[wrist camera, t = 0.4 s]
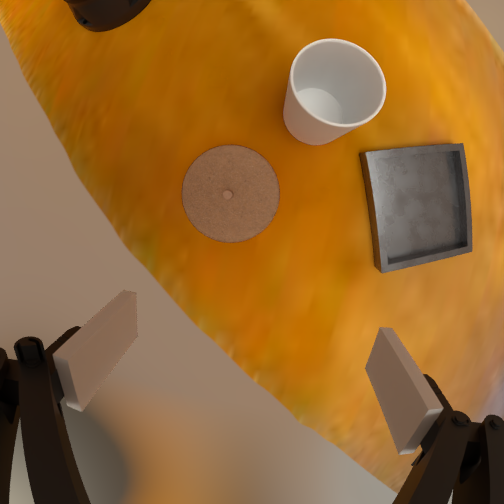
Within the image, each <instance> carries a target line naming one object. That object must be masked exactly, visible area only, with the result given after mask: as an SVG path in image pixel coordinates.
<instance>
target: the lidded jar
mask: <svg viewBox="0 0 504 504" xmlns="http://www.w3.org/2000/svg"><path fill="white" fill-rule="evenodd" d="M279 199H280V189H279V183H278V180H277V176H276V174H275V172H274V170H273V168H272V167H271V165H270V164H269V163H268V161H267V160H266V159H265V158H264V157H263V156H261V155H260V154H258V153H257V152H255V151H253V150H251V149H249V148H247V147H243V146H238V145H223V146H218V147H215V148H212V149H210V150H208V151H206V152H204V153H203V154H202V155H200V156H199V157H198V158H197V159H196V160H195V161H194V162H193V163H192V165H191V166H190V167H189V169H188V171H187V173H186V175H185V178H184V181H183V186H182V201H183V206H184V209H185V212H186V214H187V216H188V218H189V220H190V221H191V223H192V224H193V225H194V226H195V227H196V228H197V229H198V230H199V231H200V232H201V233H203V234H204V235H205V236H207V237H209V238H211V239H214V240H217V241H221V242H229V243H234V242H241V241H245V240H248V239H250V238H252V237H254V236H256V235H258V234H259V233H261V232H262V231H263V230H264V229H265V228H266V227H267V226H268V225H269V223H270V222H271V221H272V219H273V217H274V216H275V214H276V211H277V208H278V204H279Z"/></svg>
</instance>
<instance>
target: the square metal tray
mask: <svg viewBox="0 0 504 504" xmlns="http://www.w3.org/2000/svg"><path fill="white" fill-rule="evenodd" d="M359 156H360V161H361V166H362V172H363V178H364V183H365V190H366V196H367V203H368V210H369V217H370V225H371V233H372V242H373V252H374V262H375V267H376V268H377V269H378V270H379V271H380V272H381V273H385V272H390V271H394V270H399V269H403V268H407V267H412V266H416V265H420V264H424V263H429V262H433V261H437V260H441V259H445V258H449V257H453V256H457V255H461V254H465V253H468V252H472V217H471V202H470V190H469V180H468V172H467V165H466V158H465V151H464V145H463V143H460V144H444V145H430V146H418V147H407V148H397V149H388V150H380V151H371V152H364V153H360V154H359Z"/></svg>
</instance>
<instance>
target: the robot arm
mask: <svg viewBox="0 0 504 504" xmlns="http://www.w3.org/2000/svg"><path fill="white" fill-rule="evenodd" d="M64 1H65V2H67V3H68V5H69V7H70V9H71V11H72V13H73V15H74V17H75V19H76V20H77V22H78V23H79V24H80V25H82V26H83V27H85V28H86V29H88V30H91V31H96V32H100V31H107V30H110V29H113V28H116V27H118V26H120V25H122V24H124V23H126V22H127V21H129V20H131V19H132V18H133V17H135V16H136V15H137V14H138V13H140V12H141V11H142V10H143V9H144V8H145V7H146V6H147V4H148V3H149V2H150V1H151V0H64ZM136 312H137V309H136V293H135V292H131V291H126V290H123V291H122V292H121V293H120V294H119V295H118V296H116V297H115V298H114V299H113V300H112V301H110V302H109V303H108V304H107V305H106V306H105V307H104V308H103V309H101V310H100V311H99V312H98V313H97V314H96V315H95V316H94V317H92V318H91V319H90V320H89V321H88V322H87V323H86V324H85V325H84V326H83V327H79V326H75V327H73V328H71V329H69V330H67V331H66V332H65V333H64V334H63V335H62V337H59V338H58V339H57V341H55V342H54V343H53V344H51V345H50V346H49V347H48V348H47V349H46V350H45V351H44V347H43V343H42V341H41V340H40V339H39V338H36V337H24V338H21V339H19V340H18V341H17V342H16V343H15V345H14V350H15V353H16V356H17V359H18V360H12V359H8V357H7V354H6V352H5V350H4V349H2V348H0V504H9V492H10V479H11V469H12V460H13V453H14V446H15V440H16V434H17V429H18V424H19V419H20V420H21V430H22V440H23V448H24V454H25V461H26V467H27V472H28V477H29V482H30V486H31V491H32V495H33V499H34V502H35V504H91V503H90V501H89V498H88V495H87V493H86V490H85V487H84V485H83V482H82V479H81V476H80V473H79V470H78V467H77V465H76V461H75V458H74V455H73V451H72V448H71V444H70V441H69V437H68V433H67V429H66V425H65V420H64V416H63V411H62V407H61V404H60V401H61V399H62V398H63V397H65V400H66V403H67V406H69V407H71V408H74V409H76V410H78V411H81V412H82V411H83V410H84V408H85V407H86V405H87V404H88V403H89V401H90V400H91V398H92V397H93V396H94V394H95V393H96V391H97V390H98V388H99V387H100V386H101V384H102V383H103V382H104V380H105V379H106V378H107V376H108V375H109V374H110V372H111V371H112V370H113V368H114V367H115V366H116V364H117V363H118V361H119V360H120V359H121V357H122V356H123V355H124V354H125V352H126V351H127V350H128V348H129V347H130V346H131V344H132V343H133V341H134V340H135V339H136V338H137V336H138V333H137V313H136ZM365 369H366V372H367V374H368V376H369V379H370V381H371V384H372V386H373V389H374V391H375V394H376V396H377V398H378V401H379V404H380V406H381V409H382V411H383V414H384V416H385V419H386V421H387V424H388V427H389V429H390V432H391V435H392V437H393V440H394V443H395V446H396V448H397V451H398V454H399V455H401V454H409V453H414V451H415V450H416V449H417V447H418V446H419V445H421V447H422V449H423V450H422V452H421V453H420V454H419V456H418V457H417V458H416V459H415V461H414V462H413V463H412V464H411V465H412V466H413V465H414V466H413V468H412V470H411V472H410V474H409V475H408V477H407V479H406V481H405V483H404V485H403V486H402V488H401V490H400V492H399V493H398V495H397V497H396V498H395V500H394V502H393V503H392V504H447V503H448V501H449V498H450V496H451V493H452V490H453V496H452V504H504V421H503V420H502V418H500V417H499V416H496V415H488V416H486V418H485V419H484V421H483V422H482V423H476V422H471V420H470V418H469V417H468V416H467V415H466V414H464V413H463V412H460V411H453V409H452V407H451V406H450V404H449V403H448V401H447V399H446V398H445V396H444V395H443V394H442V392H441V390H440V389H439V388H438V385H437V384H436V382H435V381H434V380H433V379H432V378H431V377H430V376H428V375H427V374H422V372H421V371H420V369H419V368H418V366H417V365H416V363H415V362H414V360H413V359H412V357H411V356H410V354H409V353H408V351H407V350H406V348H405V347H404V345H403V344H402V342H401V341H400V339H399V338H398V336H397V335H396V333H395V332H394V330H393V329H392V328H384V327H380V328H379V331H378V334H377V337H376V340H375V343H374V346H373V348H372V351H371V354H370V356H369V359H368V362H367V364H366V367H365Z"/></svg>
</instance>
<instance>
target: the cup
mask: <svg viewBox="0 0 504 504" xmlns="http://www.w3.org/2000/svg"><path fill="white" fill-rule="evenodd" d="M385 97H386V82H385V78H384V75H383V72H382V70H381V68H380V66H379V65H378V63H377V62H376V60H375V59H374V58H373V57H372V56H371V55H370V54H369V53H368V52H367V51H365V50H364V49H363V48H361V47H359V46H358V45H356V44H353V43H351V42H348V41H345V40H340V39H323V40H318V41H315V42H313V43H311V44H309V45H307V46H306V47H304V48H303V49H302V50H301V51H300V52H299V53H298V54H297V56H296V58H295V59H294V61H293V63H292V66H291V70H290V76H289V81H288V87H287V93H286V98H285V104H284V110H283V118H284V122H285V125H286V127H287V129H288V131H289V132H290V133H291V134H292V135H293V136H294V137H295V138H296V139H297V140H299V141H301V142H303V143H306V144H309V145H323V144H326V143H329V142H331V141H333V140H335V139H336V138H338V137H340V136H342V135H344V134H346V133H347V132H349V131H351V130H353V129H355V128H357V127H359V126H361V125H362V124H364V123H366V122H368V121H369V120H371V119H372V118H373V117H374V116H375V115H376V114H377V113H378V112H379V111H380V109H381V108H382V106H383V103H384V101H385Z"/></svg>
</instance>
